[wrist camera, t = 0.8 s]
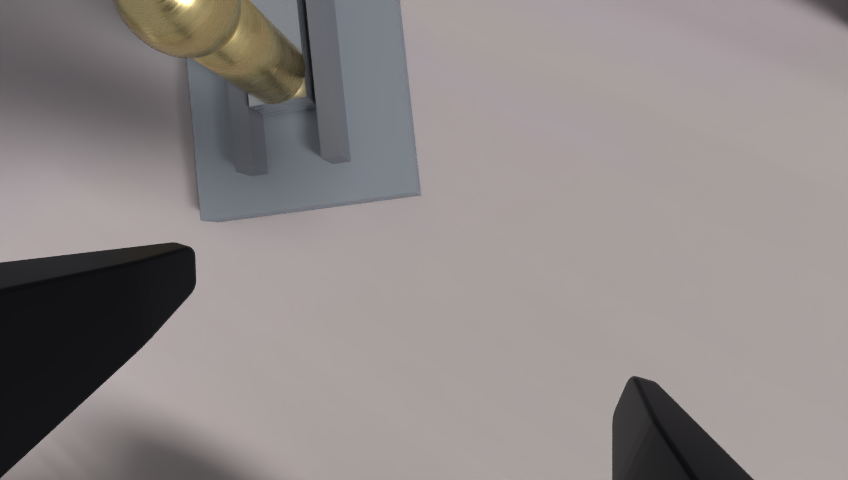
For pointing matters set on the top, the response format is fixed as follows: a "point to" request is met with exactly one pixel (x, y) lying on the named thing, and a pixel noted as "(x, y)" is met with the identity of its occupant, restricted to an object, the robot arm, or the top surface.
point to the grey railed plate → (313, 124)
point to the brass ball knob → (235, 44)
